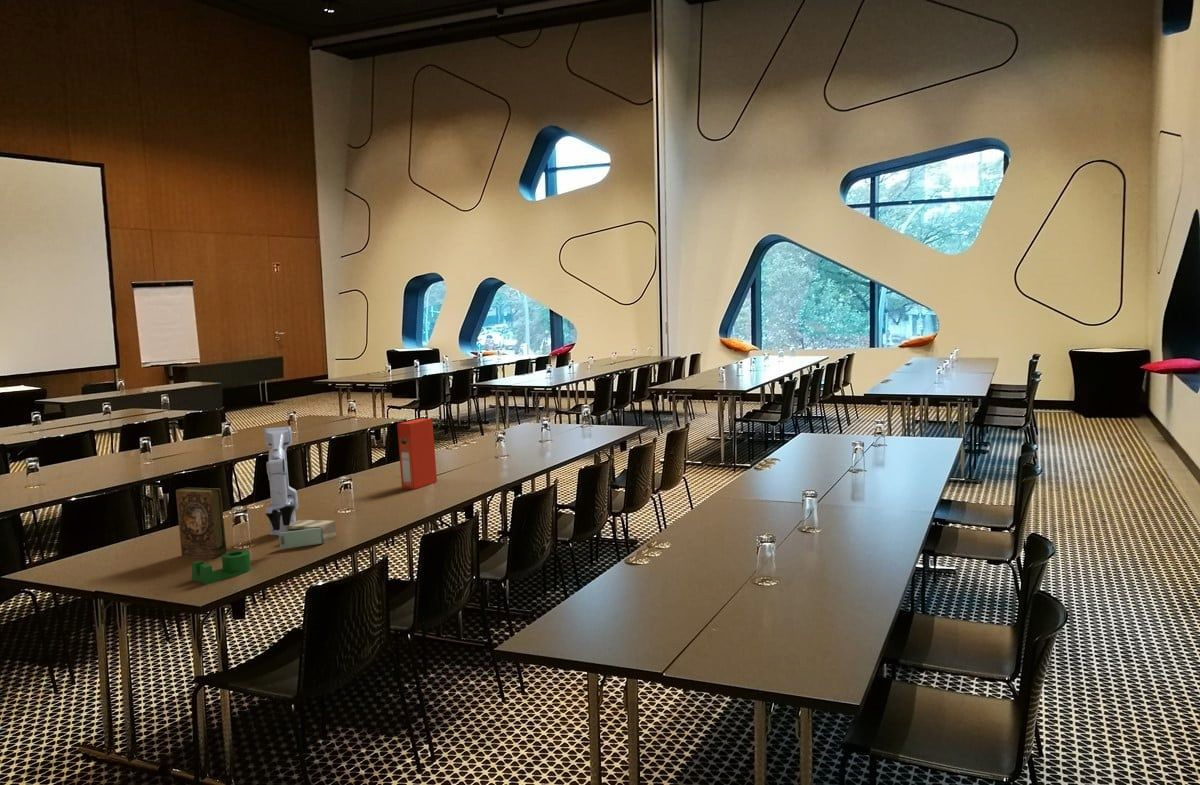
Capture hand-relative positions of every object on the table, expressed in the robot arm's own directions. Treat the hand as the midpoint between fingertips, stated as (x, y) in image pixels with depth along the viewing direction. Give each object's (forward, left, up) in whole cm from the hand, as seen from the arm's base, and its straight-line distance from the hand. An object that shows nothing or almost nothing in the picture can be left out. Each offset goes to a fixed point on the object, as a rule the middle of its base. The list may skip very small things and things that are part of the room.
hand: (281, 527), depth 327 cm
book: (-29, -7, -10) cm, 31 cm away
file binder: (0, +113, -10) cm, 113 cm away
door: (+3, +7, -9) cm, 12 cm away
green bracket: (-5, -27, -10) cm, 29 cm away
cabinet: (+1, +17, -9) cm, 19 cm away
